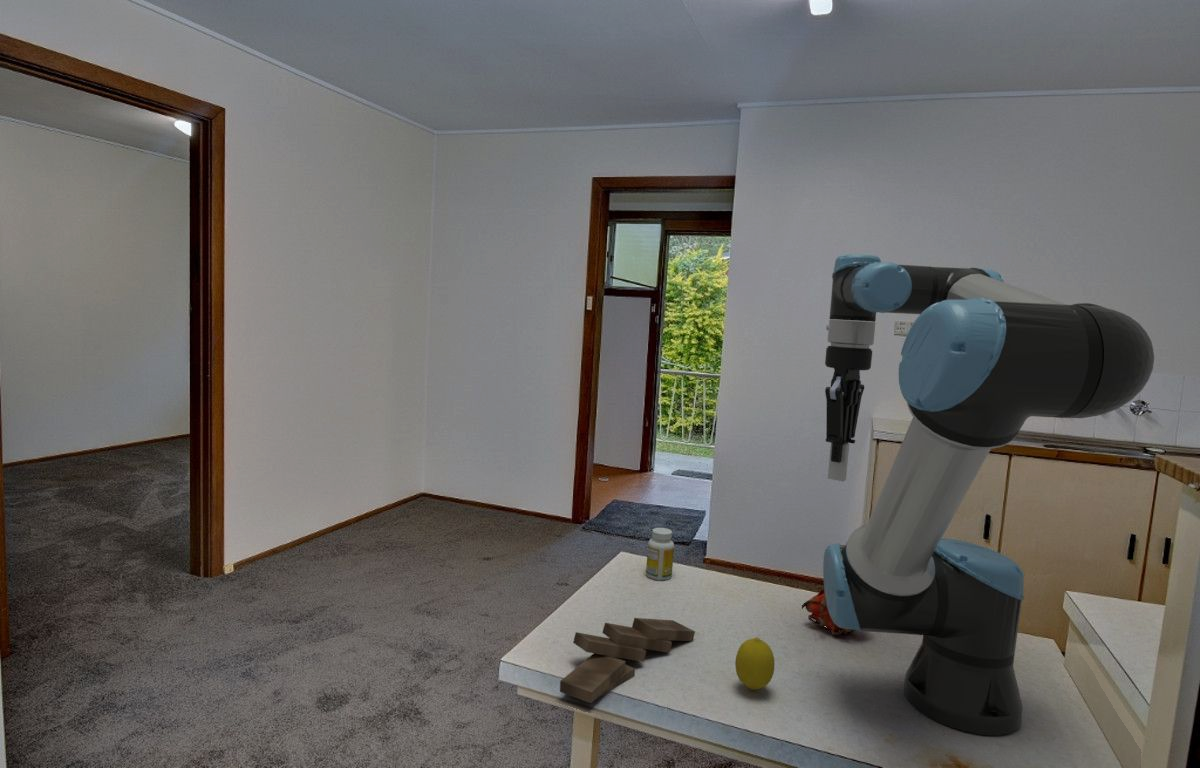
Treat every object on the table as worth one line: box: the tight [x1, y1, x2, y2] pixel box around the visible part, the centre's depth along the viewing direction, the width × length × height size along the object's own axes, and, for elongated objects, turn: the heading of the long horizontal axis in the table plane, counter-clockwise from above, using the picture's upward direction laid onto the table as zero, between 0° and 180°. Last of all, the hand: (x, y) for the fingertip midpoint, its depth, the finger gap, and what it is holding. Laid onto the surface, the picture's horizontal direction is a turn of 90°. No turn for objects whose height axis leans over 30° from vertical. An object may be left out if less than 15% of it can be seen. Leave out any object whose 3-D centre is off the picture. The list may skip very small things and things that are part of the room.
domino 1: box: [572, 631, 647, 663], centre depth 106 cm, size 5×2×10 cm
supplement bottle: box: [645, 527, 675, 581], centre depth 142 cm, size 5×5×10 cm
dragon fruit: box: [801, 588, 855, 636], centre depth 122 cm, size 8×8×12 cm
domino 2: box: [559, 653, 626, 704], centre depth 99 cm, size 5×2×10 cm
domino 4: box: [601, 622, 673, 653], centre depth 110 cm, size 5×2×10 cm
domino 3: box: [594, 663, 636, 701], centre depth 101 cm, size 5×2×10 cm
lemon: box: [735, 636, 775, 692], centre depth 101 cm, size 6×6×8 cm
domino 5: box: [631, 617, 696, 642], centre depth 114 cm, size 5×2×10 cm
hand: (836, 479), depth 122 cm, fingers closed
